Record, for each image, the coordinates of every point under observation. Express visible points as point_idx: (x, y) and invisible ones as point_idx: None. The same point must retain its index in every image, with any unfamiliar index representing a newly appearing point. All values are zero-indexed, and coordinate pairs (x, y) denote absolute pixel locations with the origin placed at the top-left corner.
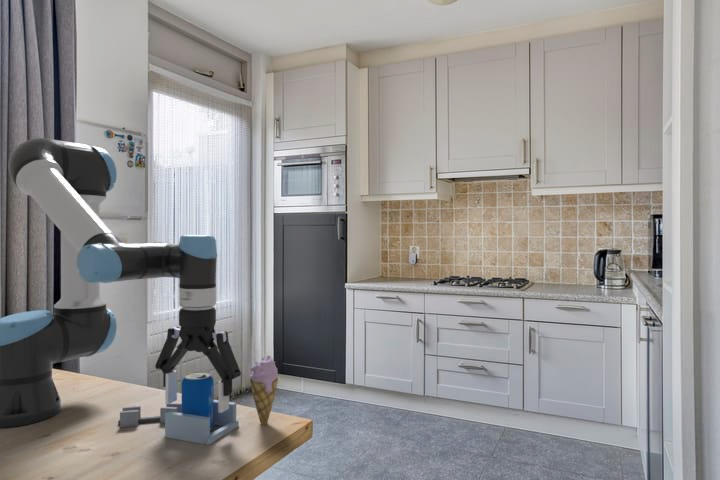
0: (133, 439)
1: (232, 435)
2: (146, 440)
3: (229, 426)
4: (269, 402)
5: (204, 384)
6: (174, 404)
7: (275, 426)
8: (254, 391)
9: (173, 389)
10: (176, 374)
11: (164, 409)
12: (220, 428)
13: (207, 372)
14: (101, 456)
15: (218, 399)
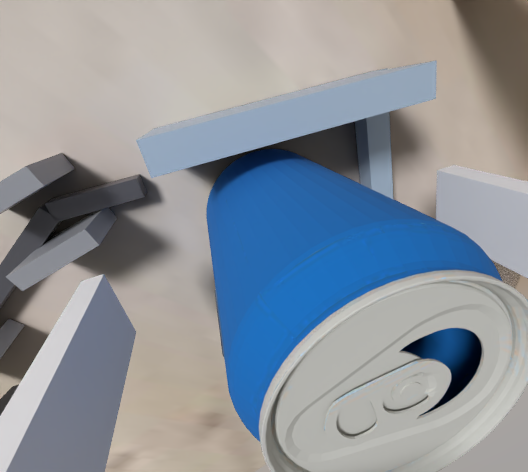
0: (153, 370)
1: (405, 156)
2: (194, 349)
3: (389, 142)
4: None
5: (478, 357)
6: (5, 208)
7: None
8: None
9: (96, 353)
10: (24, 445)
11: (46, 275)
12: (374, 181)
13: (432, 283)
14: (199, 443)
15: (494, 260)
